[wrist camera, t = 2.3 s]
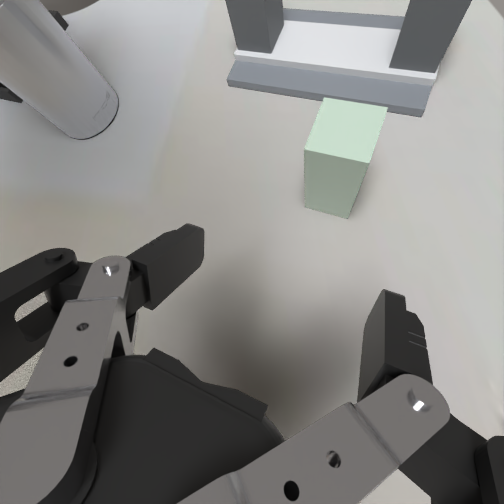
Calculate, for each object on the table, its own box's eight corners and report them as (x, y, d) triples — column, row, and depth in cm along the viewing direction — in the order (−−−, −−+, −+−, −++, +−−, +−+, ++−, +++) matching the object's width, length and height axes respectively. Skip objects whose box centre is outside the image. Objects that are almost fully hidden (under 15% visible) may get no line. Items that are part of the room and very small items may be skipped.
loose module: (304, 207, 28) (304, 149, 19) (319, 169, 29) (325, 95, 20) (347, 218, 27) (369, 163, 18) (361, 178, 28) (388, 105, 19)
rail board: (228, 85, 35) (200, -1, 25) (261, 14, 37) (246, -90, 27) (420, 116, 28) (476, 16, 19) (447, 29, 30) (509, -100, 21)
